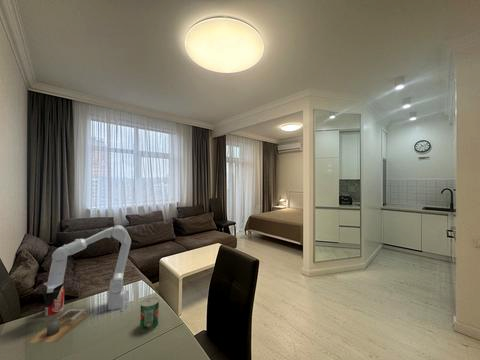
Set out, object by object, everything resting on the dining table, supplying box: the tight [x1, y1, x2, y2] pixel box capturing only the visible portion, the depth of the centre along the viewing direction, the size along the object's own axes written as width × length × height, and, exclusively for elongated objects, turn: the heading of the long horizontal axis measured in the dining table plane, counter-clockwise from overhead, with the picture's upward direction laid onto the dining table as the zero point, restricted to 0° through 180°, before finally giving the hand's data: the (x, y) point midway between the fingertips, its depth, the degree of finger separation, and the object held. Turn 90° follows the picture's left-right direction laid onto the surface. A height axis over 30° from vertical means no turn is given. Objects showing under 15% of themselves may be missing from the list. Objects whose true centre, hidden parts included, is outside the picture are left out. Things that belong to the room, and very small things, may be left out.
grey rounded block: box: [46, 319, 60, 336], centre depth 86 cm, size 4×4×4 cm
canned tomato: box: [139, 296, 160, 332], centre depth 92 cm, size 8×8×11 cm
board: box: [24, 312, 92, 344], centre depth 91 cm, size 13×20×1 cm, turn 2°
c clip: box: [54, 308, 87, 325], centre depth 96 cm, size 8×8×2 cm
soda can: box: [44, 285, 65, 317], centre depth 102 cm, size 7×7×13 cm
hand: (51, 302), depth 94 cm, fingers open, 7 cm apart
